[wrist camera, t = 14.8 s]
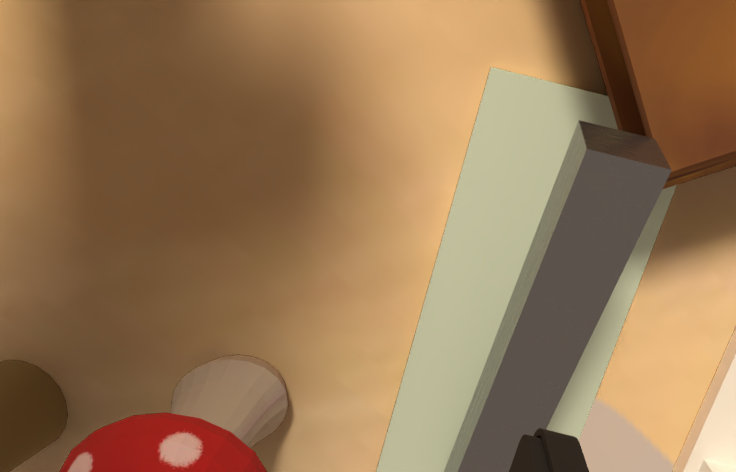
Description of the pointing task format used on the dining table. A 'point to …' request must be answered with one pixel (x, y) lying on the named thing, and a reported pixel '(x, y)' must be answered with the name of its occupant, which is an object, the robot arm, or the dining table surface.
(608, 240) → the rail
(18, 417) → the cork
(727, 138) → the diary
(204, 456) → the decorative mushroom
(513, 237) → the mat
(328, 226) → the dining table surface
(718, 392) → the rack
